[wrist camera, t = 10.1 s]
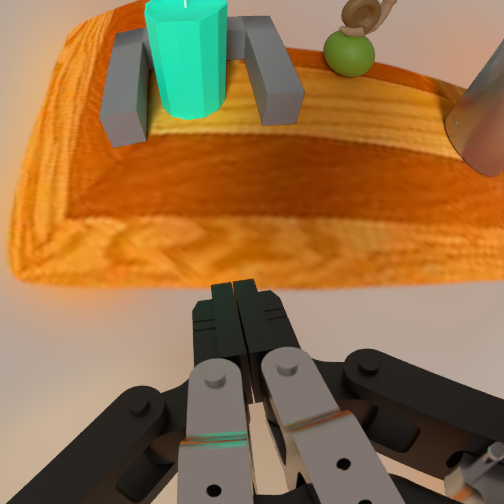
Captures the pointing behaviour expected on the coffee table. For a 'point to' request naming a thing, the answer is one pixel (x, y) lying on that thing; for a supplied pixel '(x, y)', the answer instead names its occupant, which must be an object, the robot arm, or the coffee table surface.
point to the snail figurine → (355, 37)
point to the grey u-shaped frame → (237, 47)
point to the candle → (189, 54)
